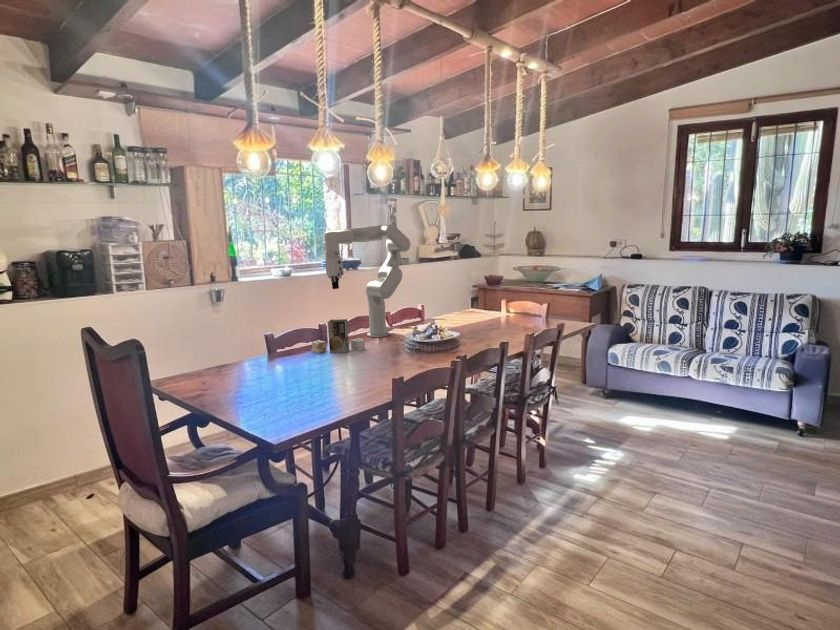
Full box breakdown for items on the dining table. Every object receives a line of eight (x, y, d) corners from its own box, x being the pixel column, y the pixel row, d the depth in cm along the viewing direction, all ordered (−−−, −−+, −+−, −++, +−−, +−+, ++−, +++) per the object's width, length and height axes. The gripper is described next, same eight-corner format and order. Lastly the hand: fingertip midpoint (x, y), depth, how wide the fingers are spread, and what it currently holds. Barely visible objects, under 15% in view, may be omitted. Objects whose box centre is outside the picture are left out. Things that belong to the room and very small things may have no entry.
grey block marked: (358, 347, 282) (358, 337, 282) (364, 348, 279) (364, 339, 278) (351, 349, 279) (350, 339, 278) (357, 350, 276) (356, 340, 275)
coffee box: (349, 349, 278) (348, 319, 275) (346, 352, 272) (345, 321, 269) (332, 349, 279) (330, 319, 276) (329, 352, 273) (327, 321, 270)
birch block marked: (320, 349, 280) (319, 340, 279) (326, 351, 276) (325, 341, 275) (312, 351, 276) (311, 341, 276) (317, 353, 273) (317, 343, 272)
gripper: (347, 254, 282) (349, 288, 286) (329, 253, 292) (332, 286, 296) (336, 255, 277) (338, 290, 280) (318, 255, 287) (321, 288, 290)
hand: (335, 288), depth 288 cm, fingers closed
